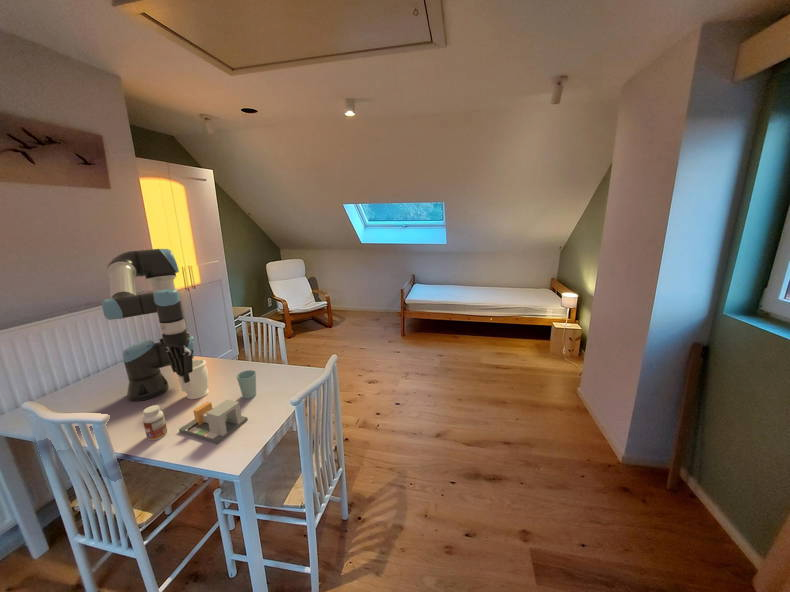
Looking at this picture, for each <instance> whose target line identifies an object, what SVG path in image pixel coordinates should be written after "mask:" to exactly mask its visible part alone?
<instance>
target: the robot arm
mask: <svg viewBox="0 0 790 592" xmlns="http://www.w3.org/2000/svg"><path fill="white" fill-rule="evenodd" d="M179 272H180V270H179V267H178V263H177V261H176V259H175V256H174V253H173V252H172V250H171V249H169V248H153V249H152V248H151V249H141V250H130V251H124V252H122V253H120V254H118V255H116V256H115V257H113V258H112V259H111V261H110V262H109V263H108V265H107V267H106V274H107V277H109V279H110V280H109V284H110V285H109V287H110V288H109V290H110V291H109V293H110V294H109V295H110V297H109V298H106V299H104V300H103V299H102V301H101V309H102V313H103V315H104V318H105V319H106V320H107V321H108V320H109V321H111V320H113V321H114V320H122V319H126V318H133V317H138V316H143V315H144V316H145V315H149V314H150V315H151V314H155V313H156V314H157V317H158V322H159V326H160V327H159V328H160V333H161V335H160V336H159V338H158V339H159V342H155V341H154V340H141V341H139V342H136V343H133V344H132V345H129V346H128V347H126V348H124V350H123V351H122V353H121V355H122V359H123V360H122V362H123V363H124V366H125V371H126V375H127V379H128V384H127V385H128V387H127V391H126V395H127V399H128V400H129V401H132V402H141V401H147V400H149V399H150V400H151V399H153V398H156V397H157V396H160V395H162V394H164V393H165V392H167V390H168V389H169V382H168V380H167V379H166V378H165V376H164V374H163V373H162V372H161V369H162V368H166V367H169V366H170V367H171V370H172V372H173V373H176V375H178V380H179V384H180V388H181V391H182V392H185V391H187V390H188V389H190V388H191V384H190V378H189V373H191V372H193V366H192V360H194V357H195V341H194V340H195V339H194V336H193V335H191V334H190V333H189V331H187V324H186V321H185V317H184V313H183V312H184V311H183V307H182V301H181V295H180V293H179V290H178V289H177V288H176V286H175V281H174V280H175V279H176V277H177V273H179ZM137 277H139V278H140V277H145V280H146V281H147V282H149V283H150V284H151V289H152V292H149V293H143V294H142V293H141V294H137V289H136V282H135V278H137Z"/></svg>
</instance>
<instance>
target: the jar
mask: <svg viewBox="0 0 790 592" xmlns="http://www.w3.org/2000/svg"><path fill="white" fill-rule="evenodd" d="M192 366H193V372H191V373H189V378H190V384H191V388H190V389H188V390H187V391H184V392H185V393H186V394H187V395H186V398H187V399H188V400H196V399H197V400H198V399H201V398H203V397H205V396H207V395H208V394H209V392H210V390H209V382H210V381H209V370H208V368H207V362H206V360H205V359H199V358H198V359H192Z"/></svg>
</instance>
